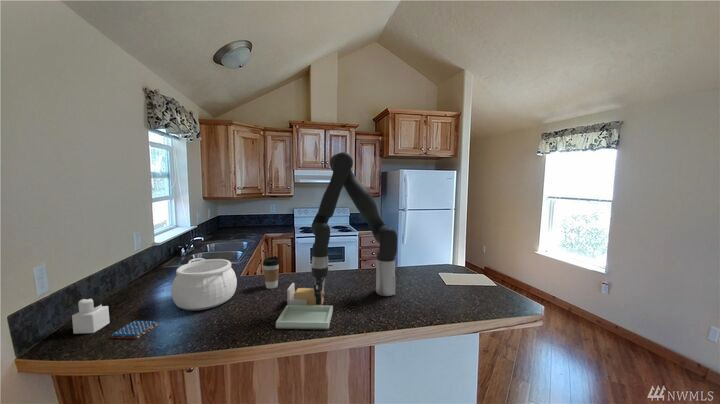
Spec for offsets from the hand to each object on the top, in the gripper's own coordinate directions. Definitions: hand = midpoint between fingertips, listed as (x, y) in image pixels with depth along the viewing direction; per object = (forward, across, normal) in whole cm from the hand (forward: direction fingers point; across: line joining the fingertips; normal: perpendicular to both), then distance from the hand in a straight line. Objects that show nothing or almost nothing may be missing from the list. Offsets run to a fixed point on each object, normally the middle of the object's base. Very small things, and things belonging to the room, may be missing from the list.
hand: (319, 301), depth 122 cm
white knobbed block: (+3, -23, +83) cm, 86 cm away
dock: (+1, 0, +9) cm, 9 cm away
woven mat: (+4, -24, +65) cm, 69 cm away
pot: (+3, +2, +54) cm, 54 cm away
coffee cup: (+2, +19, +29) cm, 35 cm away
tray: (+1, -14, +3) cm, 14 cm away
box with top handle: (+1, 0, +5) cm, 5 cm away
